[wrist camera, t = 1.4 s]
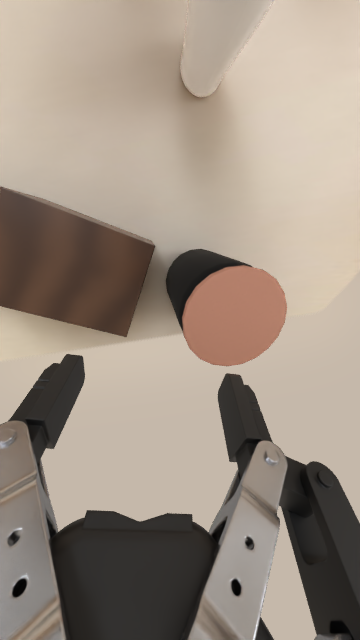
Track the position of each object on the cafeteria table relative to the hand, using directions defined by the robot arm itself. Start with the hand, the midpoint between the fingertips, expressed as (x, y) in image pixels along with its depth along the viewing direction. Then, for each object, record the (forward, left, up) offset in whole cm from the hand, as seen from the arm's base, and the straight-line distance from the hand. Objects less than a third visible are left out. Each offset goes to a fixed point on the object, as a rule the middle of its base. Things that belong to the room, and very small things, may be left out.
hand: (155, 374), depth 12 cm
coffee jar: (+2, +8, -26) cm, 27 cm away
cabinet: (-4, -8, -26) cm, 27 cm away
